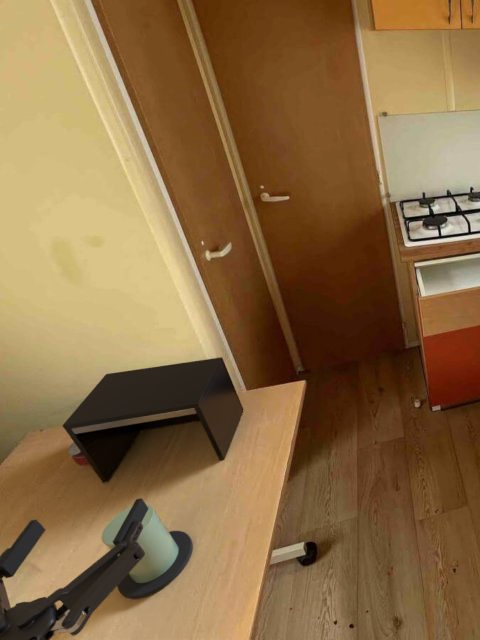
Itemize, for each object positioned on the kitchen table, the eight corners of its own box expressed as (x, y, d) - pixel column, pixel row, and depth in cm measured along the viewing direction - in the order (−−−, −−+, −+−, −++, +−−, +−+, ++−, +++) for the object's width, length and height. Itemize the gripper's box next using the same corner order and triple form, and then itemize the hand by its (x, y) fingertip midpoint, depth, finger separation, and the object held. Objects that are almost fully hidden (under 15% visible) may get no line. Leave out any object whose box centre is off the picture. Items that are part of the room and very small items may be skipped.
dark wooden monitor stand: (224, 459, 98) (197, 403, 89) (102, 483, 92) (62, 425, 84) (244, 410, 111) (222, 357, 102) (138, 428, 105) (106, 373, 97)
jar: (125, 566, 77) (95, 528, 72) (170, 533, 82) (145, 495, 77) (139, 592, 74) (108, 554, 68) (184, 556, 79) (160, 518, 73)
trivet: (102, 598, 74) (99, 596, 73) (150, 533, 83) (148, 530, 83) (164, 599, 73) (162, 596, 73) (206, 533, 83) (204, 530, 83)
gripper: (-148, 752, 46) (5, 548, 64) (119, 677, 51) (191, 509, 70) (-202, 727, 42) (-23, 519, 61) (91, 650, 48) (174, 480, 66)
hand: (91, 514), depth 65 cm, fingers open, 13 cm apart
